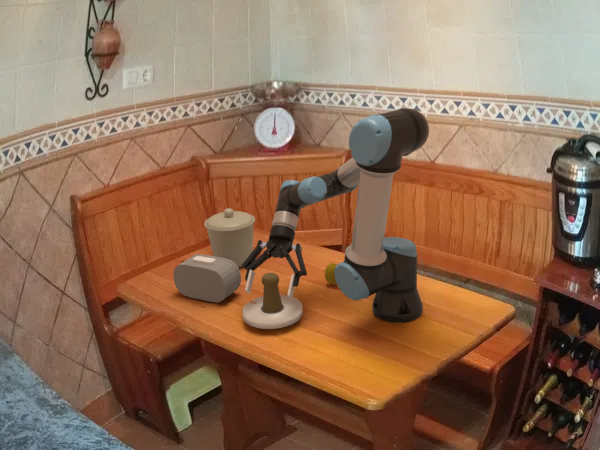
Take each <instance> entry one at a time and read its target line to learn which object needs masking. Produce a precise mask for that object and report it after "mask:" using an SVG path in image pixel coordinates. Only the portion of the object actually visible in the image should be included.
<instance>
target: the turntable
mask: <svg viewBox="0 0 600 450" xmlns="http://www.w3.org/2000/svg"><path fill="white" fill-rule="evenodd" d="M280 297H281V302H282V306H283V308H282V309H281V310H280V311H277V312H266V311H264V310H263V295H262V296H259V297H256V298H254V299H251V300H250V301H248V302H247V303H246V304H245V305H244V306H243V308H242V317H243V321H244V322H245V323H246V324H247V325H249V326H250V327H253V328H257V329H260V330H261V329H263V330H273V329H275V330H276V329H281V328H282V329H283V328H285V327H288V326H291V325H293V324H295V323H296V322H298V321H299V320H300V319H301V318H302V316H303V312H304V311H303V304H302V302H301V301H300V300H299V299H298V298H296V297H294V296H293V298H290V297H289V296H288V295H287V294H280Z"/></svg>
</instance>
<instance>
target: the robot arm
mask: <svg viewBox="0 0 600 450" xmlns="http://www.w3.org/2000/svg"><path fill="white" fill-rule="evenodd" d="M429 133H430V126H429V122H428V120H427V119H426V117H425V116H424V115H423V114H422V113H421V112H420V111H418V110H417V109H414V108H409V107H403V108H399V109H395V110H391V111H387V112H383V113H379V114H378V113H377V114H372V115H368V116H366V117H364V118H361V119H359V120H358V121H357V122H355V123H354V125H353V126H352V128H351V130H350V132H349V137H348V149H349V150H350V151H351V152H350V155H351V158H350V159H348V160H347V161H346V162H345V163H343V164H342V165H340V166H339V167H338V168H336V169H335V170H334V171H331V172H329V173H326V174H325V173H324V174H322V175H321V174H320V175H317V176H310V177H307V178H304V179H303V180H302V181H297V180H294V179H289V180H288V179H287V180H284V181H283V182H282V184H281V185H280V189H279V192H278V198H277V202H276V207H275V210H274V211H275V212H274V215H273V219H272V222H271V225H272V226H271V228H270V231H269V236H268V240H267V242H266V241H262V239H259V240H258V241H257V244H256V246H255V248H253V251H252V253H251V254H250V255H249V256H248V258H247V259H246V260H245V262H244V263H243V264H242V268H243V269H245V270H246V273H245V276H244V281H245V282H246V284H245V287H244V288H245V289H244V291H245V292H246V293H247V294H251V292H252V288H253V283H254V280H255V274H256V272H255V271H256V270H257V269H258V268H259V267H260V266H261V265H263V264H264V263H265V262H266V261H267V260H269V259H271V258H273V259H277V258H278V259H284V258H285V259H286V260H287V262H288V264H289V266H290V268H291V269H292V271H293V273H294V274H293V273H292V274H291V275H290V281H289V286H288V291H287V294H286V295H287V296H289V297H290V298H293V297H294V293H295V289H296V288H297V287H298V286H299V283H300V278H301V277H302V276H304V277H306V276H307V275H308V271H307V269H306V264H305V261H304V258H303V247H302V246H301V244H300V243H296V244H293V243H294V240H295V235H296V230H297V226H298V221H299V217H300V213H301V209H304V208H306V207H308V206H311V205H314V204H316V203H320V202H322V201H326V200H329V199H331V198H335V197H337V196H341V195H344V194H349V193H350V192H353V191H355V190H356V189H357V188H358V191H357V198H356V207H355V215H354V221H353V230H352V240H351V244H350V245H348V246H347V247H346V249H345V252H344V260H343V262H342V261H341V262H339V263H338V264H337V266H336V267H335V271H334V275H335V280H336V285H337V287H338V288H339V290H340V292H342V294H343V295H345V297H346V298H348V299H350V300H352V301H361V300H363V299H367V298H369V297H371V296H373V295H374V298H373V301H372V304H371V305H372V314H373V315H374V316H375V318H377V319H379V320H380V321H384V322H387V323H396V324H399V323H401V324H402V323H408V322H412V321H415V320H417V319H418V318H420V317H421V316H422V315H423V312H424V310H423V309H424V308H423V306H424V305H423V301H422V299H421V296H420V292H419V290H418V285H417V284H418V280H417V279H418V253H417V252H418V251H417V245H416V244H415V242H414V241H412V240H411V239H407V238H403V237H397V236H386V237H385V233H386V229H387V228H386V227H387V221H388V213H389V206H390V199H391V194H392V193H391V192H392V189H393V188H392V186H393V180H394V174H396V173H398V172H399V171H400V170H401V166H402V161H403V160H402V159H403V157H407V156H409V155H411V154H412V153H414V152H416V151H419V150H420V149H421V148H422V147H423V146H425V144H426V142H427V141H428V138H429V136H430V135H429ZM265 248H266V249H265ZM262 251H263V252H262ZM292 251H294V252H295V255H296V259H297V263H298V266H299V269H298V267H297V266H296V264H295V262H294V260H293V258H292V256H291V255H290V253H291V252H292Z"/></svg>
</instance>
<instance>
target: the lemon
mask: <svg viewBox="0 0 600 450" xmlns="http://www.w3.org/2000/svg"><path fill="white" fill-rule="evenodd" d="M337 265H338V264H337V263H334V262H331V263H329V264H328V265H327V266H326V267H325V270H324V277H325V280H326V282H327V283H329V284H331V285H333V286H335V285H337V283H336V280H335V275H334V271H335V267H336V266H337Z"/></svg>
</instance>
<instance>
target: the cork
mask: <svg viewBox="0 0 600 450" xmlns="http://www.w3.org/2000/svg"><path fill="white" fill-rule="evenodd" d="M279 283H280V276H279V275H278V274H277V273H276V272H266V273H264V274H263V275H262V276H261V284H262V285H263V295H262V296H263V310H264V311H266V312H277V311H280V310H281V309H282V308H283V306H282V302H281V297H280V295H281V294H280V289H279Z"/></svg>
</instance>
